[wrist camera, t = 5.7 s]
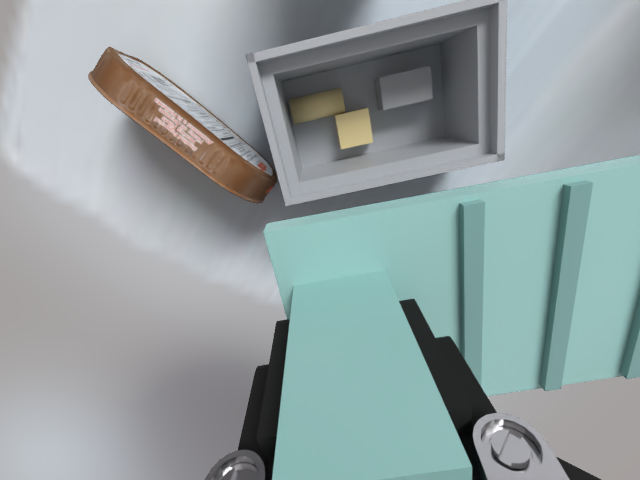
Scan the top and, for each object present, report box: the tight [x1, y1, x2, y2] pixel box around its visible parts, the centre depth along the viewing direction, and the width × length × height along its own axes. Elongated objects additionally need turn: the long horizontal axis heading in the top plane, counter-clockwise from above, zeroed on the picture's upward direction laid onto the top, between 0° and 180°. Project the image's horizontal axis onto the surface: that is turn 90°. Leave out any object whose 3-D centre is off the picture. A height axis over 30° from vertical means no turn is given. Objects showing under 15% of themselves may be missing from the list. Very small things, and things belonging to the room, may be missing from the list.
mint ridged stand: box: [263, 155, 640, 480], centre depth 8 cm, size 14×8×7 cm, turn 101°
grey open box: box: [246, 0, 507, 206], centre depth 25 cm, size 16×10×8 cm, turn 102°
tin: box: [88, 47, 277, 203], centre depth 25 cm, size 15×3×8 cm, turn 49°
